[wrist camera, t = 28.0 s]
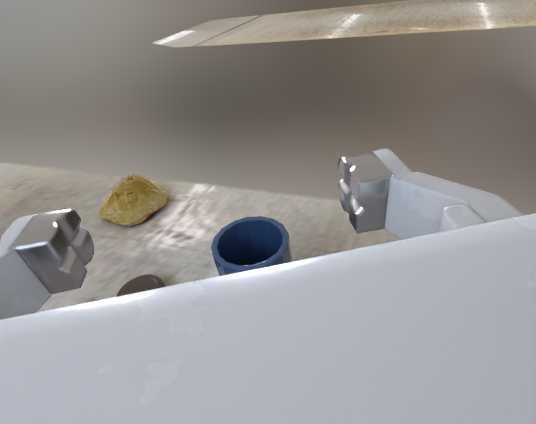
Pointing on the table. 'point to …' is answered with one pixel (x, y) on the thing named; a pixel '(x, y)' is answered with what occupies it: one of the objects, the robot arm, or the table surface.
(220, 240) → the cup
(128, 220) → the fossil
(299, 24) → the table surface
